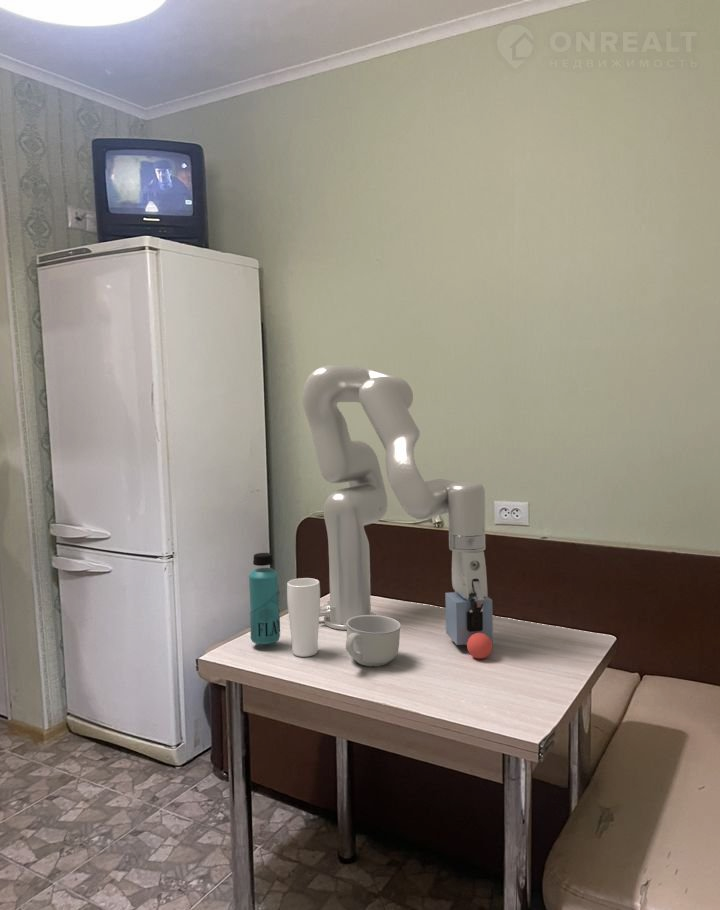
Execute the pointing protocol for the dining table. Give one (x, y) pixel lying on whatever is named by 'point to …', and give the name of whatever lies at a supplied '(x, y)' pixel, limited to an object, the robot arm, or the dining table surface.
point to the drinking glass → (304, 615)
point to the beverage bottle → (264, 601)
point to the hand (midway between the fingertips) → (468, 623)
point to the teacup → (372, 639)
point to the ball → (479, 645)
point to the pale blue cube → (465, 618)
